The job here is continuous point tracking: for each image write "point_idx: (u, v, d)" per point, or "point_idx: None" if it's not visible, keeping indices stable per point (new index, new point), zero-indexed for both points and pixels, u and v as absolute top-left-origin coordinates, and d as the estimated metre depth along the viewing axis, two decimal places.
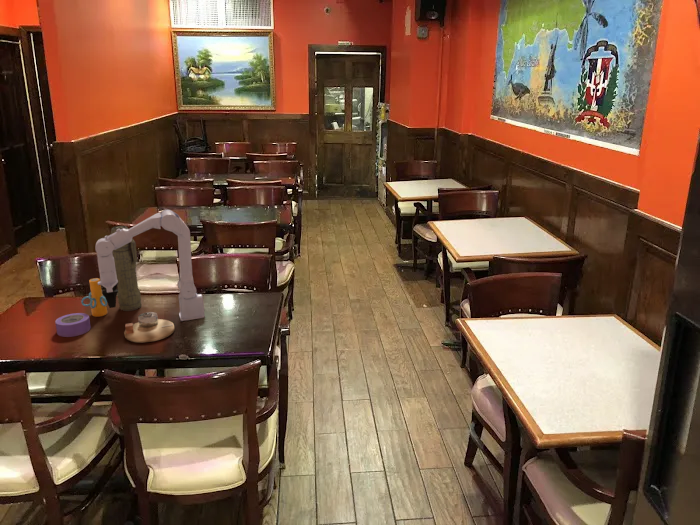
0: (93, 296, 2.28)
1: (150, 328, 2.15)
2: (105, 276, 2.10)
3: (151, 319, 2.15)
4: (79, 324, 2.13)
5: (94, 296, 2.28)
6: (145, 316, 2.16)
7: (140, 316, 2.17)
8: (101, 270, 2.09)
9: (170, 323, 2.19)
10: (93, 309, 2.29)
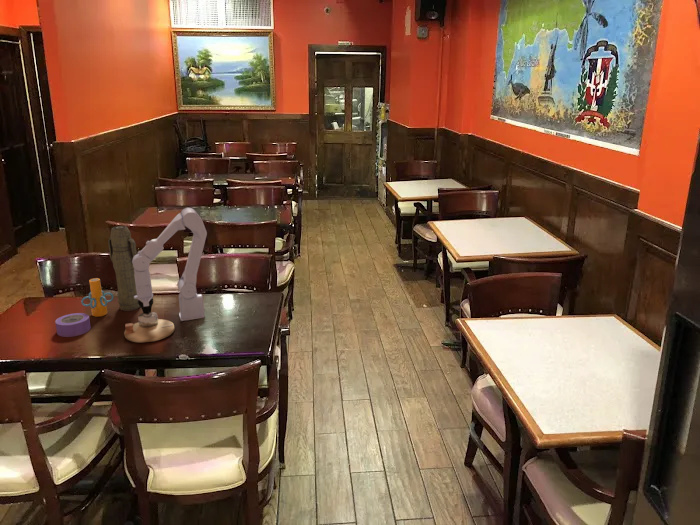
0: (93, 296, 2.28)
1: (150, 328, 2.15)
2: (142, 290, 2.16)
3: (151, 319, 2.15)
4: (79, 324, 2.13)
5: (94, 296, 2.28)
6: (145, 316, 2.16)
7: (140, 316, 2.17)
8: (138, 285, 2.16)
9: (170, 323, 2.19)
10: (93, 309, 2.29)
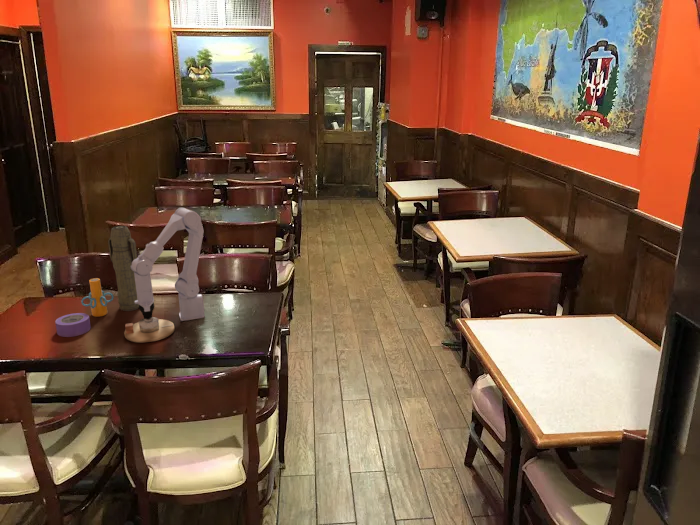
0: (93, 296, 2.28)
1: None
2: (143, 295, 2.12)
3: (152, 324, 2.11)
4: (79, 324, 2.13)
5: (94, 296, 2.28)
6: (146, 321, 2.12)
7: (140, 321, 2.12)
8: (141, 289, 2.11)
9: (170, 323, 2.19)
10: (93, 309, 2.29)
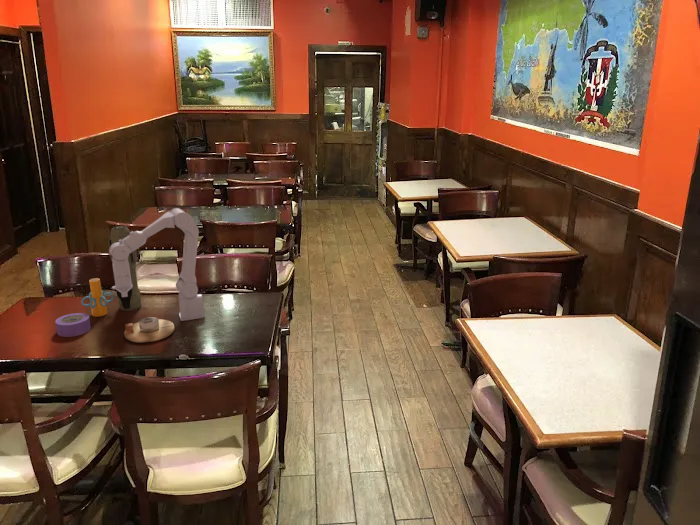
0: (93, 296, 2.28)
1: None
2: (120, 280, 2.08)
3: (152, 324, 2.11)
4: (79, 324, 2.13)
5: (94, 296, 2.28)
6: (146, 321, 2.12)
7: (140, 321, 2.12)
8: (117, 275, 2.08)
9: (170, 323, 2.19)
10: (93, 309, 2.29)
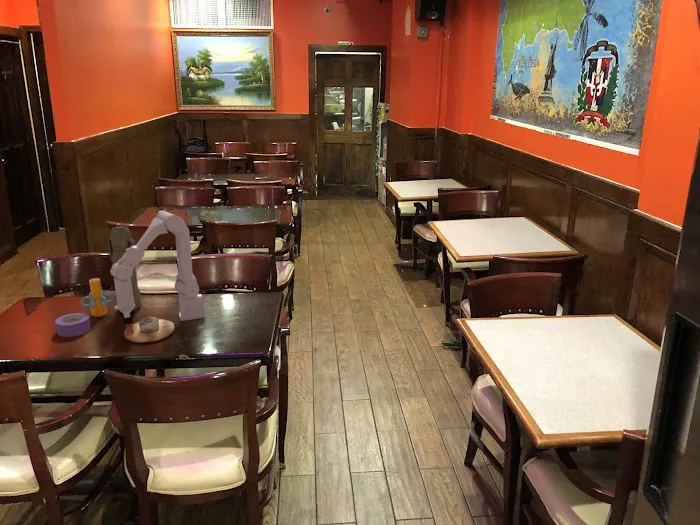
0: (93, 296, 2.28)
1: None
2: (123, 301, 2.07)
3: (152, 324, 2.11)
4: (79, 324, 2.13)
5: (94, 296, 2.28)
6: (146, 321, 2.12)
7: (140, 321, 2.12)
8: (121, 295, 2.06)
9: (170, 323, 2.19)
10: (93, 309, 2.29)
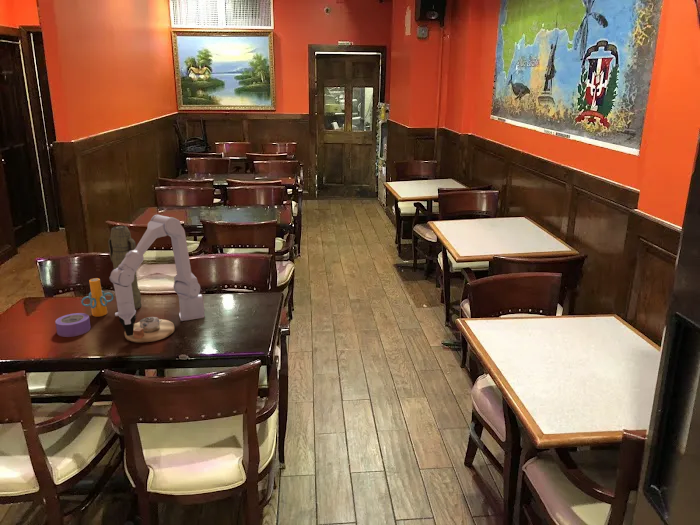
0: (93, 296, 2.28)
1: None
2: (123, 307, 2.01)
3: (158, 321, 2.14)
4: (79, 324, 2.13)
5: (94, 296, 2.28)
6: (151, 321, 2.12)
7: (144, 323, 2.11)
8: (123, 301, 2.00)
9: None
10: (93, 309, 2.29)
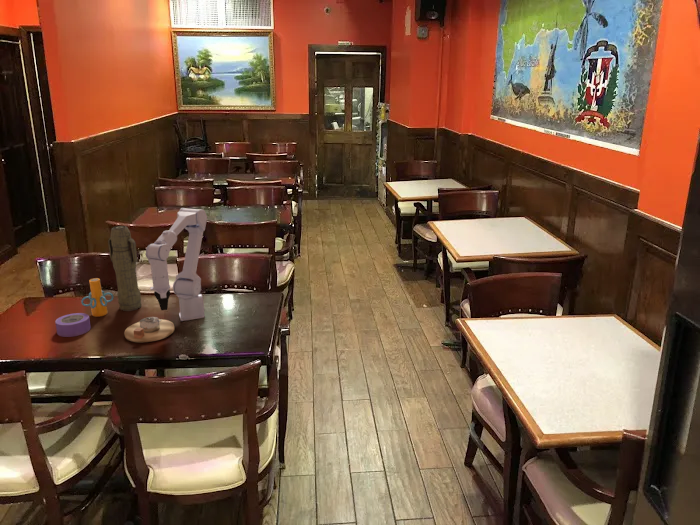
0: (93, 296, 2.28)
1: None
2: (158, 281, 2.06)
3: (158, 321, 2.14)
4: (79, 324, 2.13)
5: (94, 296, 2.28)
6: (151, 321, 2.12)
7: (144, 323, 2.11)
8: (161, 275, 2.05)
9: None
10: (93, 309, 2.29)
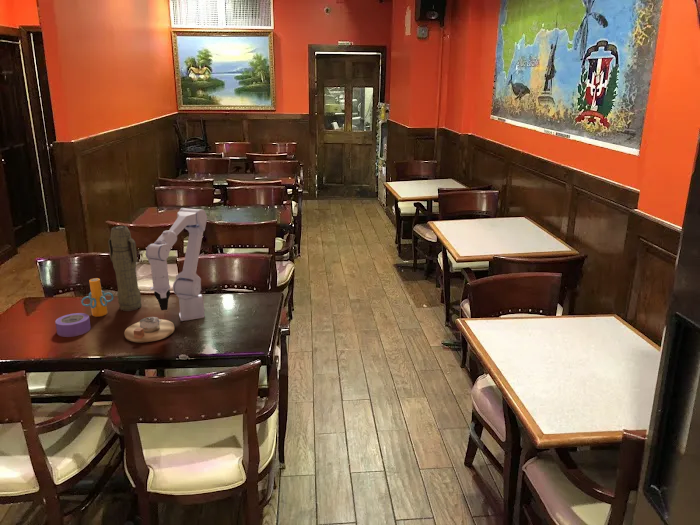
0: (93, 296, 2.28)
1: None
2: (158, 281, 2.06)
3: (158, 321, 2.14)
4: (79, 324, 2.13)
5: (94, 296, 2.28)
6: (151, 321, 2.12)
7: (144, 323, 2.11)
8: (161, 275, 2.05)
9: None
10: (93, 309, 2.29)
